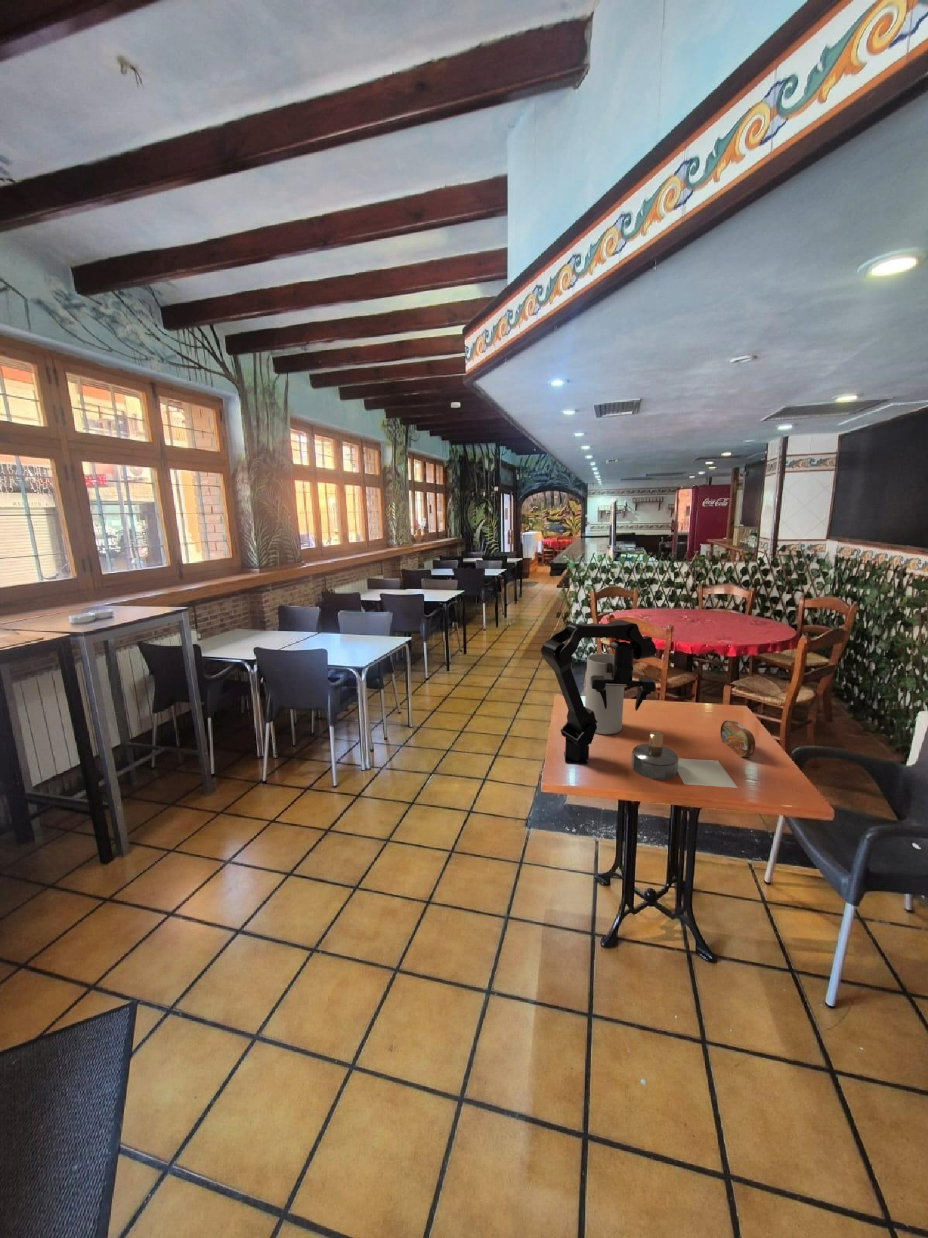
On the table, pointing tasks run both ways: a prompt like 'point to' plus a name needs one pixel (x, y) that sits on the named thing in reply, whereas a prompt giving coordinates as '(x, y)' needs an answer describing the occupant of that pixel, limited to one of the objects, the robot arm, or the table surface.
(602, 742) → the table surface
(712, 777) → the mat
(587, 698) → the cylinder vase
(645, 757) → the cloche
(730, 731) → the tin
